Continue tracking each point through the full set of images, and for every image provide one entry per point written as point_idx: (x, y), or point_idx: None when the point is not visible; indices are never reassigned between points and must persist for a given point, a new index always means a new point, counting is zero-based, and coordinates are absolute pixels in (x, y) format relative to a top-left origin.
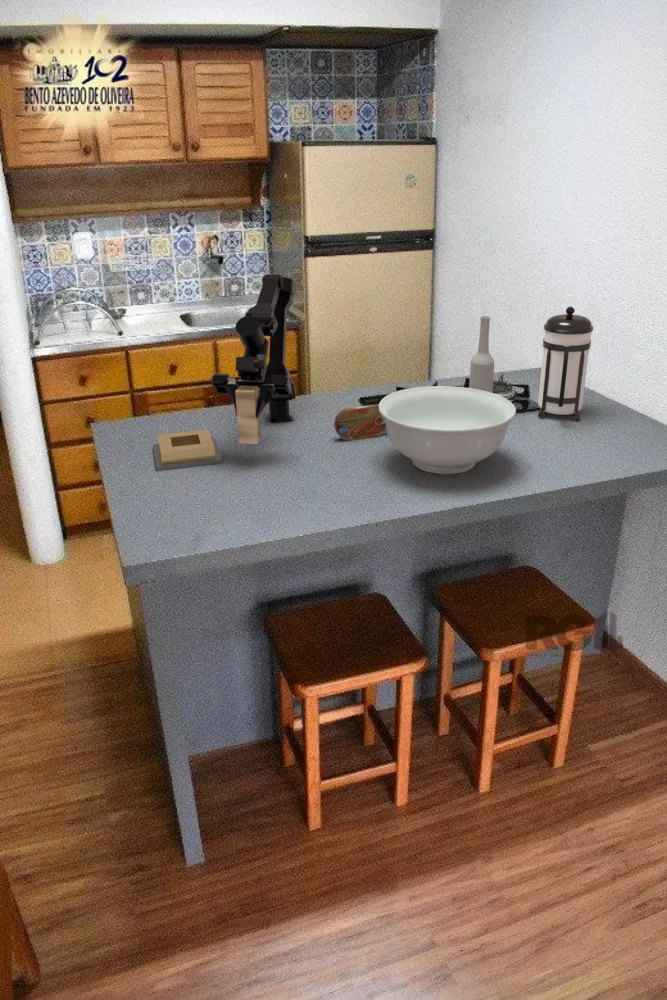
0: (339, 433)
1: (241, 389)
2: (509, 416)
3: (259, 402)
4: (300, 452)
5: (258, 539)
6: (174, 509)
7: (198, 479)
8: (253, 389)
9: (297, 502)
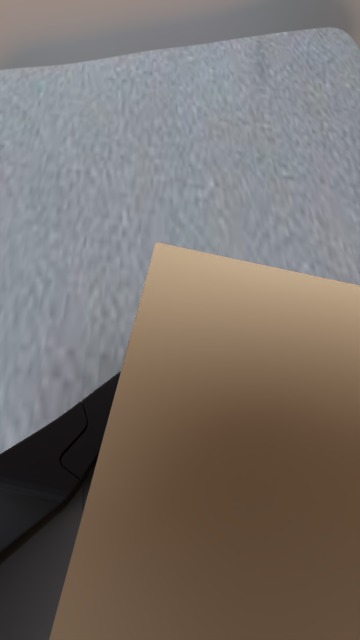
0: None
1: None
2: None
3: (109, 404)
4: None
5: (161, 54)
6: (330, 164)
7: None
8: (158, 395)
9: (79, 159)
